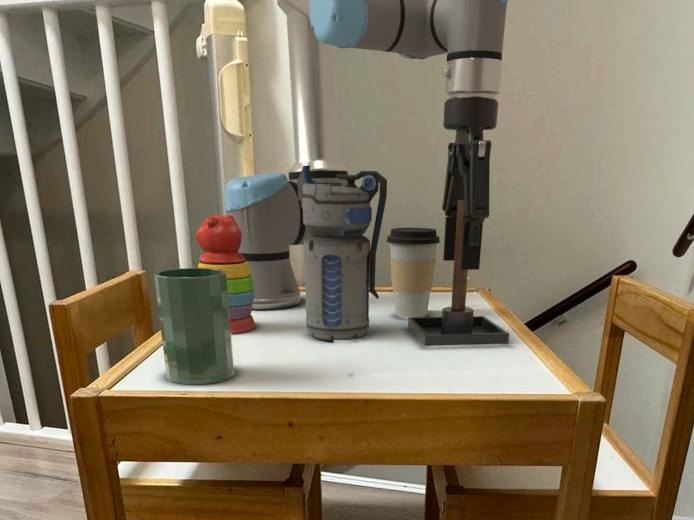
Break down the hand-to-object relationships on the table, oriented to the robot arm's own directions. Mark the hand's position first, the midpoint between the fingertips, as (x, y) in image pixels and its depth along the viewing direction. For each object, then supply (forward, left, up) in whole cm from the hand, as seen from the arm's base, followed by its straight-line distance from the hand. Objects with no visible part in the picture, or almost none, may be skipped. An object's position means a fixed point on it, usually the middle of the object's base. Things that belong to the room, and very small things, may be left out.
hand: (460, 264), depth 103 cm
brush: (0, 0, -11) cm, 11 cm away
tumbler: (+17, -39, -11) cm, 44 cm away
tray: (0, 0, -11) cm, 11 cm away
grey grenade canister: (-3, -18, -12) cm, 22 cm away
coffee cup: (-17, -4, -12) cm, 21 cm away
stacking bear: (-11, -37, -12) cm, 40 cm away
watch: (-23, +7, -12) cm, 27 cm away
